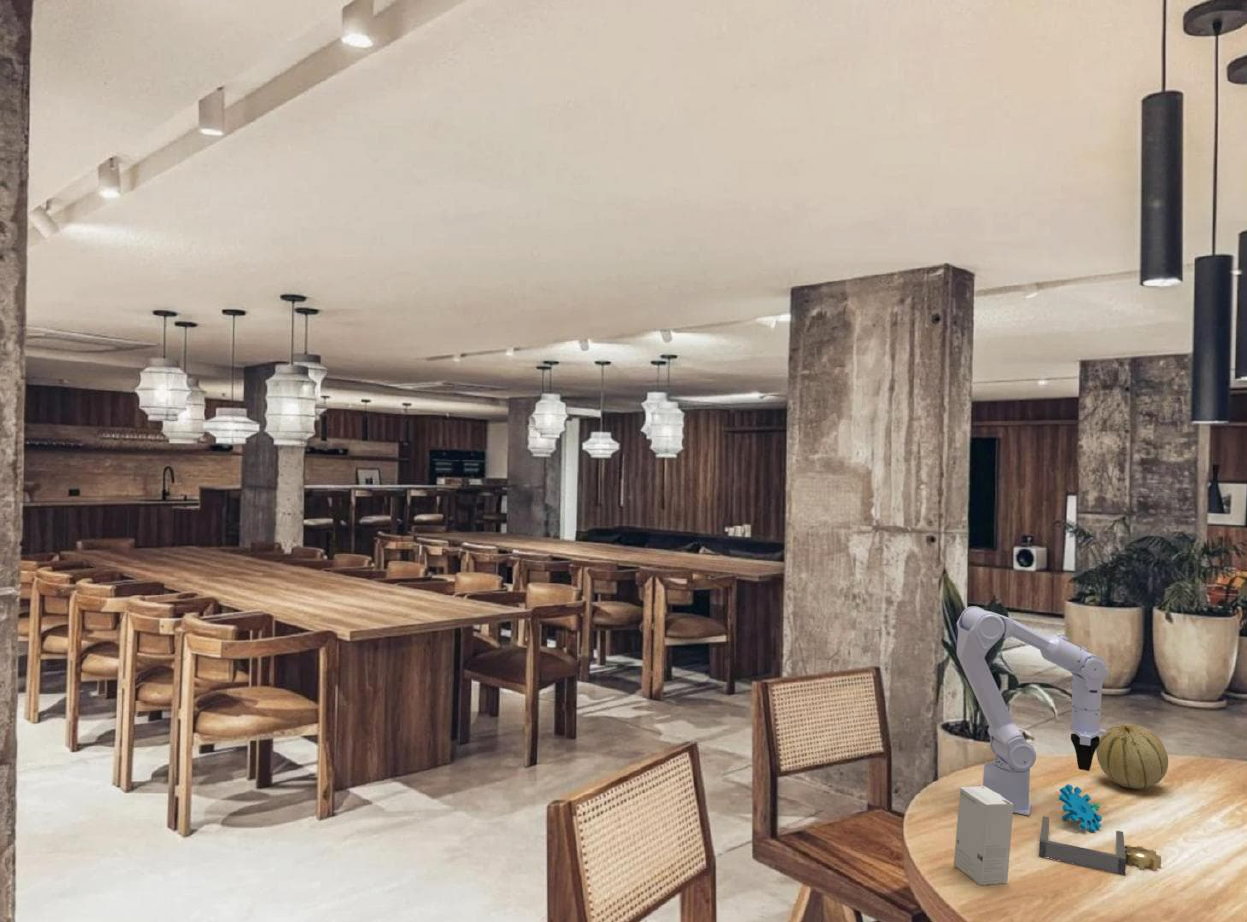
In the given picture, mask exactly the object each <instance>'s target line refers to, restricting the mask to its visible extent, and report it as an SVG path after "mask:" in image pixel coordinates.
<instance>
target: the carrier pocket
mask: <svg viewBox="0 0 1247 922" xmlns="http://www.w3.org/2000/svg"><path fill="white" fill-rule="evenodd" d="M1049 834H1050V817H1049V816H1046V815H1045V816H1044V815H1043V816H1042V819H1041V828H1040V835H1039V844H1038V846H1039V847H1038V857H1039V856H1041V857H1040V858H1043V857H1049V858H1052V859H1055V860H1054V861H1057V860H1060V861H1059V862H1061V861H1062V863H1067V864H1070V863H1073V864H1072V865H1075V864H1076V865H1075V866H1080V867H1086V868H1090V869H1093V870H1099V871H1102V870H1103V872H1107V873H1108V872H1109V873H1113V874H1116V875H1122V876H1126V867H1127V866H1129V867H1130V866H1133V867H1136V868H1138V870H1141V871H1145V870H1151V871H1154V872H1156V871H1158V868H1159V869H1162V856H1161V855H1159V854H1157V851H1155V850H1154V849H1146V848H1144V846H1141V845H1137V846H1131V845H1130V844H1129V845H1128V844H1125V837H1124V836H1125V834H1124V831H1121V830H1116V831H1115V854H1114V853H1110V852H1106V851H1101V850H1100V851H1099V850H1095V849H1090V848H1085V847H1080V846H1077V845H1071V844H1068V843H1067V844H1066V843H1061V842H1057V841H1052V840H1049ZM1052 859H1051V860H1052ZM1126 865H1127V866H1126Z"/></svg>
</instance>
